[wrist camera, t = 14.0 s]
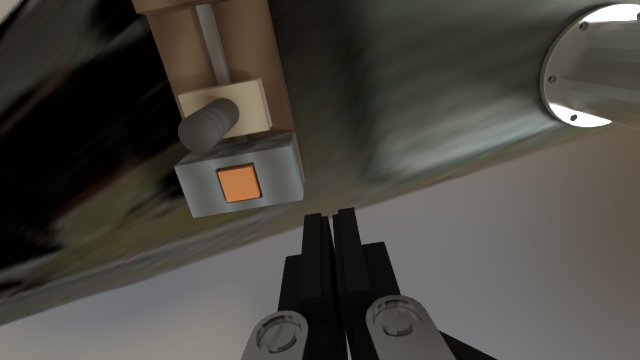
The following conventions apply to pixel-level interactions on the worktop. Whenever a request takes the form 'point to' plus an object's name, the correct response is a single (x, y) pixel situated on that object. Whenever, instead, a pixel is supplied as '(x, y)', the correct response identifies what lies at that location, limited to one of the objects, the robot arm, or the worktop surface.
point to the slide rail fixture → (223, 68)
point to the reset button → (240, 182)
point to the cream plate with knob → (222, 113)
